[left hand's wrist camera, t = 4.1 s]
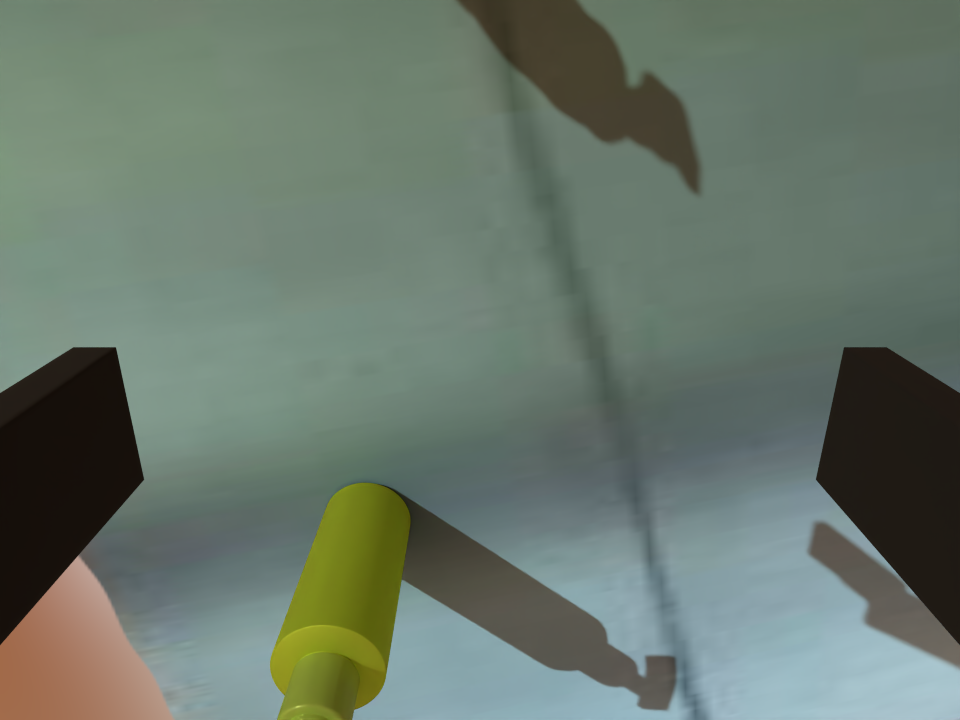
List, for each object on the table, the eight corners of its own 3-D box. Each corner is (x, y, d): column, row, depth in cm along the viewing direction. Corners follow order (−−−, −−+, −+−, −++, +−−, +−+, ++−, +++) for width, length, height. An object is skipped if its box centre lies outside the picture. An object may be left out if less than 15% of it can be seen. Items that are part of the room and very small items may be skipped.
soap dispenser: (412, 471, 45) (364, 739, 26) (409, 556, 47) (364, 855, 29) (324, 466, 45) (213, 731, 26) (325, 551, 47) (225, 849, 29)
